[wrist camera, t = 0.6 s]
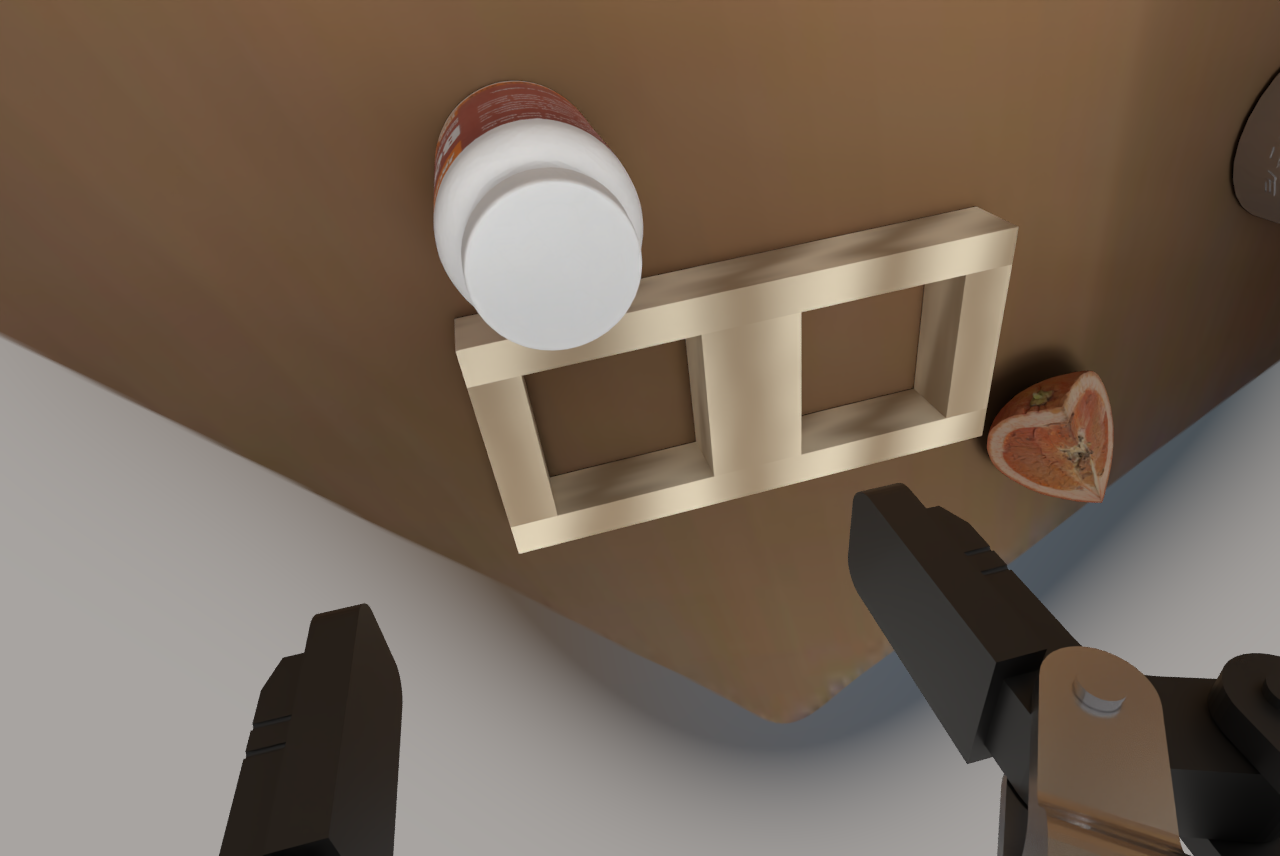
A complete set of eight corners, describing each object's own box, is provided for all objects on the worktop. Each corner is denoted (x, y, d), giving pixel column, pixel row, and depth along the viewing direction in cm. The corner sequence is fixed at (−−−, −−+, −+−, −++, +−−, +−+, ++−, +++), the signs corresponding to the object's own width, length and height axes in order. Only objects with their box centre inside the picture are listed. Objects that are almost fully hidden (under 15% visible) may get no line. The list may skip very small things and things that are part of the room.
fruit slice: (950, 394, 39) (1009, 445, 35) (1061, 319, 38) (1135, 363, 34) (994, 482, 44) (1051, 536, 40) (1094, 417, 43) (1163, 466, 39)
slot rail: (975, 206, 33) (1018, 226, 31) (948, 405, 39) (981, 435, 37) (454, 319, 30) (455, 351, 28) (513, 513, 37) (519, 553, 34)
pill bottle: (419, 83, 25) (406, 155, 16) (592, 72, 26) (670, 134, 17) (450, 253, 29) (454, 390, 20) (601, 238, 30) (671, 361, 21)
